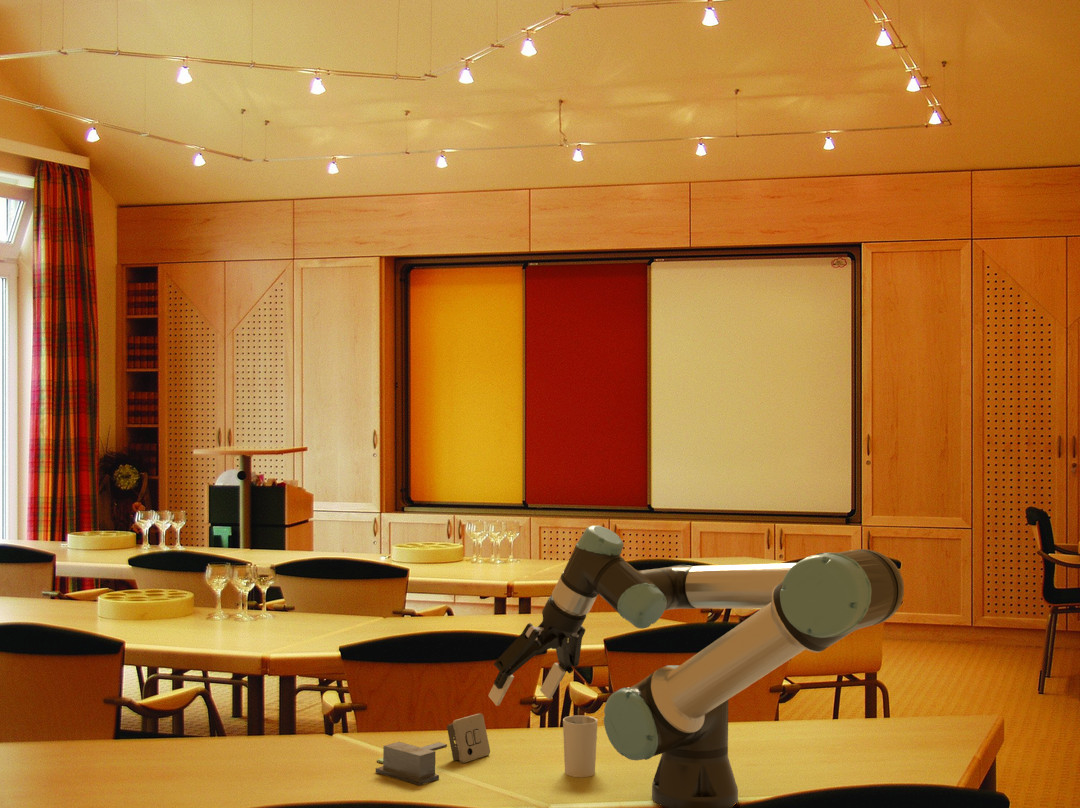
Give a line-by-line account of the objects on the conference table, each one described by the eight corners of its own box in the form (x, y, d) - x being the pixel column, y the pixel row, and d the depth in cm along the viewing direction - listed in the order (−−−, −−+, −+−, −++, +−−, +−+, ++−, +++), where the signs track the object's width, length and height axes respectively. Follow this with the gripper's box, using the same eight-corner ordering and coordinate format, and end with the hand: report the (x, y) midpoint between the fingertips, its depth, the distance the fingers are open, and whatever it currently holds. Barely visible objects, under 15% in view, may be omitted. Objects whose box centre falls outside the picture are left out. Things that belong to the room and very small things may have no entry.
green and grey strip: (446, 746, 224) (447, 742, 224) (385, 764, 211) (385, 760, 211) (438, 744, 226) (438, 740, 226) (377, 761, 213) (377, 758, 213)
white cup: (568, 779, 203) (568, 725, 203) (558, 768, 209) (558, 716, 210) (601, 776, 204) (602, 723, 205) (590, 766, 211) (591, 714, 211)
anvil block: (438, 779, 202) (439, 752, 202) (419, 785, 198) (419, 758, 198) (395, 766, 209) (395, 740, 210) (375, 772, 206) (376, 746, 206)
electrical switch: (463, 764, 212) (460, 721, 212) (446, 762, 214) (443, 719, 215) (491, 755, 218) (488, 713, 219) (474, 753, 221) (471, 712, 222)
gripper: (601, 591, 206) (554, 679, 212) (507, 592, 188) (459, 689, 194) (626, 615, 201) (577, 705, 207) (532, 619, 184) (482, 717, 189)
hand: (519, 697), depth 201 cm, fingers open, 13 cm apart
